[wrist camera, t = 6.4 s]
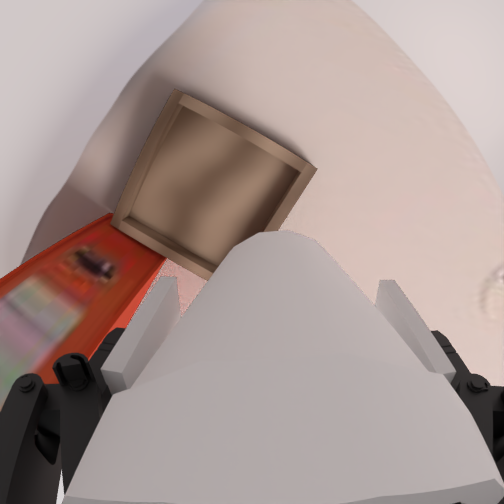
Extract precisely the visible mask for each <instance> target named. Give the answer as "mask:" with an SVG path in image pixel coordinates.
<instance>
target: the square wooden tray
mask: <svg viewBox="0 0 504 504" xmlns="http://www.w3.org/2000/svg"><path fill="white" fill-rule="evenodd" d="M316 171H317V168H315V167H314V166H312V165H311V164H309V163H308V162H306V161H305V160H303V159H301V158H300V157H298V156H297V155H295V154H293V153H292V152H290V151H289V150H287V149H285V148H284V147H282V146H280V145H279V144H277V143H275V142H274V141H272V140H270V139H269V138H267V137H265V136H263V135H262V134H260V133H258V132H257V131H255V130H253V129H251V128H250V127H248V126H246V125H244V124H242V123H241V122H239V121H237V120H235V119H233V118H231V117H230V116H228V115H226V114H224V113H222V112H220V111H218V110H216V109H215V108H213V107H211V106H209V105H207V104H205V103H203V102H201V101H199V100H197V99H195V98H193V97H191V96H189V95H187V94H185V93H183V92H181V91H179V90H176V89H174V90H173V92H172V94H171V95H170V97H169V99H168V101H167V103H166V104H165V106H164V108H163V110H162V112H161V114H160V116H159V117H158V119H157V121H156V123H155V125H154V127H153V129H152V131H151V133H150V135H149V137H148V139H147V141H146V143H145V145H144V147H143V149H142V151H141V153H140V155H139V157H138V159H137V162H136V164H135V166H134V168H133V170H132V172H131V175H130V177H129V179H128V181H127V184H126V186H125V188H124V191H123V193H122V195H121V198H120V200H119V203H118V205H117V208H116V210H115V213H114V215H113V218H112V220H111V223H110V224H111V225H112V226H114V227H116V228H117V229H119V230H121V231H122V232H124V233H126V234H127V235H129V236H130V237H132V238H134V239H136V240H137V241H139V242H141V243H142V244H144V245H146V246H147V247H149V248H151V249H152V250H154V251H156V252H158V253H159V254H161V255H163V256H164V257H166V258H168V259H170V260H171V261H173V262H175V263H177V264H178V265H180V266H182V267H184V268H185V269H187V270H189V271H191V272H192V273H194V274H196V275H198V276H200V277H201V278H203V279H205V280H207V281H208V280H209V279H210V277H211V276H212V275H213V273H214V272H215V271H216V269H217V268H218V267H219V265H220V264H221V263H222V261H223V260H224V259H225V257H226V256H227V255H228V253H229V252H230V251H231V250H232V249H233V247H234V246H236V245H238V244H240V243H241V242H243V241H245V240H247V239H248V238H250V237H252V236H254V235H255V234H257V233H259V232H271V231H278V229H279V228H280V226H281V225H282V223H283V222H284V220H285V219H286V217H287V216H288V214H289V213H290V211H291V209H292V208H293V206H294V205H295V203H296V202H297V200H298V199H299V197H300V196H301V194H302V192H303V191H304V189H305V188H306V186H307V185H308V183H309V182H310V180H311V179H312V177H313V175H314V174H315V172H316Z"/></svg>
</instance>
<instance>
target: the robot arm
mask: <svg viewBox="0 0 504 504" xmlns="http://www.w3.org/2000/svg"><path fill="white" fill-rule="evenodd" d="M375 307H376V308H377V309H378V310H379V311H380V312H381V314H382V315H383V316H384V317H385V318H386V320H387V321H388V322H389V323H390V324H391V326H392V327H393V328H394V329H395V330H396V332H397V333H398V334H399V335H400V337H401V338H402V339H403V340H404V341H405V343H406V344H407V345H408V346H409V348H410V349H411V350H412V351H413V353H414V354H415V355H416V356H417V358H418V359H419V360H420V361H421V363H422V364H423V365H424V366H425V368H426V369H427V370H428V371H429V372H434V373H439V374H443V375H444V376H445V378H446V379H447V380H448V382H449V383H450V385H451V386H452V387H453V389H454V390H455V392H456V393H457V394H458V396H459V397H460V399H461V400H462V401H463V403H464V404H465V406H466V407H467V409H468V410H469V412H470V413H471V415H472V417H473V419H474V421H475V422H476V424H477V426H478V428H479V430H480V432H481V434H482V436H483V438H484V440H485V442H486V445H487V447H488V449H489V451H490V453H491V455H492V457H493V459H494V462H495V464H496V466H497V468H498V471H499V473H500V475H501V478H502V480H503V482H504V387H501V386H490V383H489V382H488V381H487V379H485V378H484V377H482V376H480V375H478V374H471V373H470V372H469V370H468V368H467V367H466V365H465V364H464V362H463V361H462V359H461V358H460V356H459V355H458V353H456V350H455V349H454V348H453V347H452V345H451V343H450V342H449V340H448V339H447V337H445V336H444V335H443V334H441V333H440V332H439V331H430V330H429V328H428V327H427V325H426V324H425V322H424V321H423V319H422V318H421V317H420V315H419V314H418V312H417V311H416V309H415V308H414V307H413V305H412V304H411V302H410V301H409V300H408V298H407V297H406V295H405V294H404V293H403V291H402V290H401V288H400V287H399V286H398V284H397V283H396V282H395V280H380V282H379V287H378V293H377V298H376V303H375ZM180 318H181V311H180V303H179V295H178V287H177V278H176V277H168V276H161V277H160V279H159V280H158V282H157V283H156V284H155V286H154V287H153V289H152V290H151V292H150V293H149V295H148V296H147V298H146V299H145V301H144V302H143V304H142V305H141V307H140V308H139V310H138V311H137V313H136V314H135V316H134V317H133V319H132V320H131V322H130V323H129V325H128V326H127V328H118V327H116V328H115V329H114V330H112V331H111V332H109V333H108V334H107V335H106V337H105V338H104V339H103V341H102V344H100V345H99V347H98V348H97V350H96V351H95V352H94V354H93V355H92V357H91V358H90V360H89V361H88V358H87V357H86V356H85V355H84V354H81V353H68V354H65V355H63V356H61V357H59V358H58V359H57V360H56V361H55V362H54V364H53V367H52V369H53V371H54V373H55V375H56V377H57V379H58V382H59V384H44V382H43V380H42V378H41V377H40V376H39V375H38V374H34V373H27V374H24V375H22V376H20V377H19V378H17V379H16V380H15V382H14V383H13V385H12V387H11V389H10V391H9V394H8V396H7V398H6V400H5V402H4V405H3V407H2V409H1V411H0V504H56V500H57V493H58V487H59V481H60V475H61V470H62V476H63V486H64V494H66V492H67V489H68V487H69V485H70V483H71V480H72V478H73V476H74V474H75V472H76V469H77V467H78V465H79V463H80V461H81V459H82V457H83V454H84V452H85V450H86V448H87V446H88V444H89V442H90V440H91V438H92V436H93V434H94V431H95V429H96V427H97V425H98V423H99V421H100V419H101V417H102V415H103V413H104V411H105V409H106V407H107V405H108V403H109V401H110V400H111V398H112V396H113V394H116V393H119V392H122V391H125V390H127V389H130V388H131V387H132V385H133V384H134V382H135V381H136V380H137V378H138V377H139V375H140V374H141V373H142V371H143V370H144V368H145V367H146V366H147V364H148V363H149V361H150V360H151V359H152V357H153V356H154V354H155V353H156V352H157V350H158V349H159V347H160V346H161V345H162V343H163V342H164V340H165V339H166V338H167V336H168V335H169V334H170V332H171V331H172V329H173V328H174V327H175V325H176V324H177V323H178V321H179V320H180ZM453 504H461V502H457V503H453ZM498 504H504V497H503V498H502V499H501V500H500V501H499V503H498Z"/></svg>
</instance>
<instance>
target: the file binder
mask: <svg viewBox="0 0 504 504" xmlns="http://www.w3.org/2000/svg"><path fill="white" fill-rule="evenodd" d="M113 215H114V214H113V213H108V214H107V215H105V216H103V217H101V218H99V219H97V220H95V221H94V222H92V223H90V224H88V225H87V226H85V227H83V228H81V229H79V230H78V231H76V232H74V233H72V234H71V235H69V236H67V237H66V238H64V239H62V240H61V241H59V242H57V243H56V244H54V245H52V246H51V247H49V248H47V249H46V250H44V251H42V252H41V253H39V254H38V255H36V256H34V257H33V258H31V259H30V260H28V261H27V262H25V263H24V264H22V265H20V266H19V267H17V268H16V269H14V270H13V271H11V272H10V273H8V274H7V275H5V276H4V277H3V278H1V279H0V411H1V409H2V407H3V405H4V402H5V400H6V398H7V396H8V394H9V391H10V389H11V387H12V385H13V383H14V382H15V380H16V379H17V378H19V377H20V376H22V375H24V374H27V373H34V374H38V375H39V376H40V377H41V378H42V380H43V382H44V384H59V382H58V379H57V377H56V375H55V373H54V371H53V369H52V367H53V364H54V362H55V361H56V360H57V359H58V358H59V357H61V356H63V355H65V354H68V353H81V354H84V355H85V356H86V357H87V358H88V361H89V360H90V358H91V357H92V355H93V354H94V352H95V351H96V350H97V348H98V347H99V345H100V344H102V341H103V339H104V338H105V337H106V335H107V334H108V333H109V332H111V331H112V330H114V329H115V328H116V327H118V328H126V327H127V325H128V323H129V321H130V320H131V318H132V316H133V314H134V313H135V311H136V309H137V307H138V306H139V304H140V302H141V301H142V299H143V297H144V295H145V294H146V292H147V290H148V289H149V287H150V285H151V284H152V282H153V280H154V279H155V277H156V275H157V274H158V272H159V270H160V269H161V267H162V265H163V264H164V262H165V261H166V259H167V258H166V257H164V256H163V255H161V254H159V253H158V252H156V251H154V250H152V249H151V248H149V247H147V246H146V245H144V244H142V243H141V242H139V241H137V240H136V239H134V238H132V237H130V236H129V235H127V234H126V233H124V232H122V231H121V230H119V229H117V228H116V227H114V226H112V225H111V224H110V223H111V220H112V218H113Z"/></svg>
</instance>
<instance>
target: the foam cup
mask: <svg viewBox="0 0 504 504" xmlns="http://www.w3.org/2000/svg"><path fill="white" fill-rule="evenodd" d="M503 497H504V482H503V480H502V478H501V475H500V473H499V471H498V468H497V466H496V464H495V462H494V459H493V457H492V455H491V453H490V451H489V449H488V447H487V445H486V442H485V440H484V438H483V436H482V434H481V432H480V430H479V428H478V426H477V424H476V422H475V421H474V419H473V417H472V415H471V413H470V412H469V410H468V409H467V407H466V406H465V404H464V403H463V401H462V400H461V399H460V397H459V396H458V394H457V393H456V392H455V390H454V389H453V387H452V386H451V385H450V383H449V382H448V380H447V379H446V378H445V376H444V375H443V374H439V373H434V372H429V371H428V370H427V369H426V368H425V366H424V365H423V364H422V363H421V361H420V360H419V359H418V358H417V356H416V355H415V354H414V353H413V351H412V350H411V349H410V348H409V346H408V345H407V344H406V343H405V341H404V340H403V339H402V338H401V337H400V335H399V334H398V333H397V332H396V330H395V329H394V328H393V327H392V326H391V324H390V323H389V322H388V321H387V320H386V318H385V317H384V316H383V315H382V314H381V312H380V311H379V310H378V309H377V308H376V307H375V305H374V304H373V303H372V302H371V301H370V300H369V298H368V297H367V296H366V295H365V294H364V293H363V291H362V290H361V289H360V288H359V287H358V286H357V285H356V283H355V282H354V281H353V280H352V279H351V278H350V277H349V275H348V274H347V273H346V272H345V271H344V270H343V269H342V267H341V266H340V265H339V264H338V263H337V262H336V261H335V260H334V259H333V258H332V256H331V255H330V254H329V253H328V252H327V251H326V250H325V249H324V248H323V247H322V246H321V245H320V243H318V242H317V241H316V240H314V239H312V238H309V237H306V236H304V235H301V234H298V233H295V232H293V231H290V230H283V231H271V232H259V233H257V234H255V235H254V236H252V237H250V238H248V239H247V240H245V241H243V242H241V243H240V244H238V245H236V246H234V247H233V249H232V250H231V251H230V252H229V253H228V255H227V256H226V257H225V259H224V260H223V261H222V263H221V264H220V265H219V267H218V268H217V269H216V271H215V272H214V273H213V275H212V276H211V277H210V279H209V280H208V282H207V283H206V284H205V286H204V287H203V288H202V290H201V291H200V292H199V294H198V295H197V297H196V298H195V299H194V301H193V302H192V303H191V305H190V306H189V307H188V309H187V310H186V312H185V313H184V314H183V316H182V317H181V318H180V320H179V321H178V323H177V324H176V325H175V327H174V328H173V329H172V331H171V332H170V334H169V335H168V336H167V338H166V339H165V340H164V342H163V343H162V345H161V346H160V347H159V349H158V350H157V352H156V353H155V354H154V356H153V357H152V359H151V360H150V361H149V363H148V364H147V366H146V367H145V368H144V370H143V371H142V373H141V374H140V375H139V377H138V378H137V380H136V381H135V382H134V384H133V385H132V387H131V388H130V389H127V390H125V391H122V392H119V393H116V394H113V396H112V398H111V400H110V401H109V403H108V405H107V407H106V409H105V411H104V413H103V415H102V417H101V419H100V421H99V423H98V425H97V427H96V429H95V431H94V434H93V436H92V438H91V440H90V442H89V444H88V446H87V448H86V450H85V452H84V454H83V457H82V459H81V461H80V463H79V465H78V467H77V469H76V472H75V474H74V476H73V478H72V480H71V483H70V485H69V487H68V489H67V492H66V494H65V496H64V499H63V502H62V504H453V503H457V502H461V504H498V503H499V501H500V500H501V499H502V498H503Z"/></svg>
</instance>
